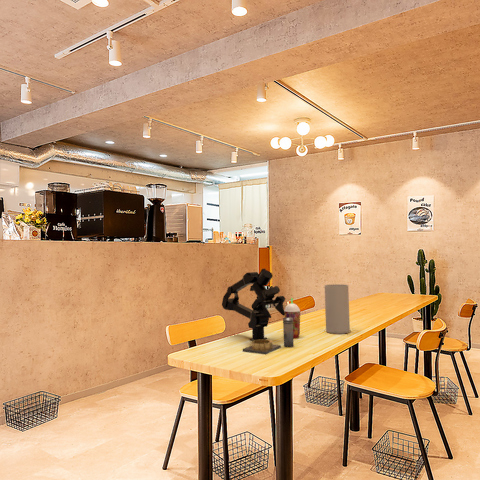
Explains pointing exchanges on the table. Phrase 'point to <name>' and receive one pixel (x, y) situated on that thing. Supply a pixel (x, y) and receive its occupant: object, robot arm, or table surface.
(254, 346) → the ring collar
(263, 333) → the robot arm
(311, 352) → the table surface
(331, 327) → the cylinder vase
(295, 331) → the smoothie
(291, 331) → the piston
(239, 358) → the table surface
